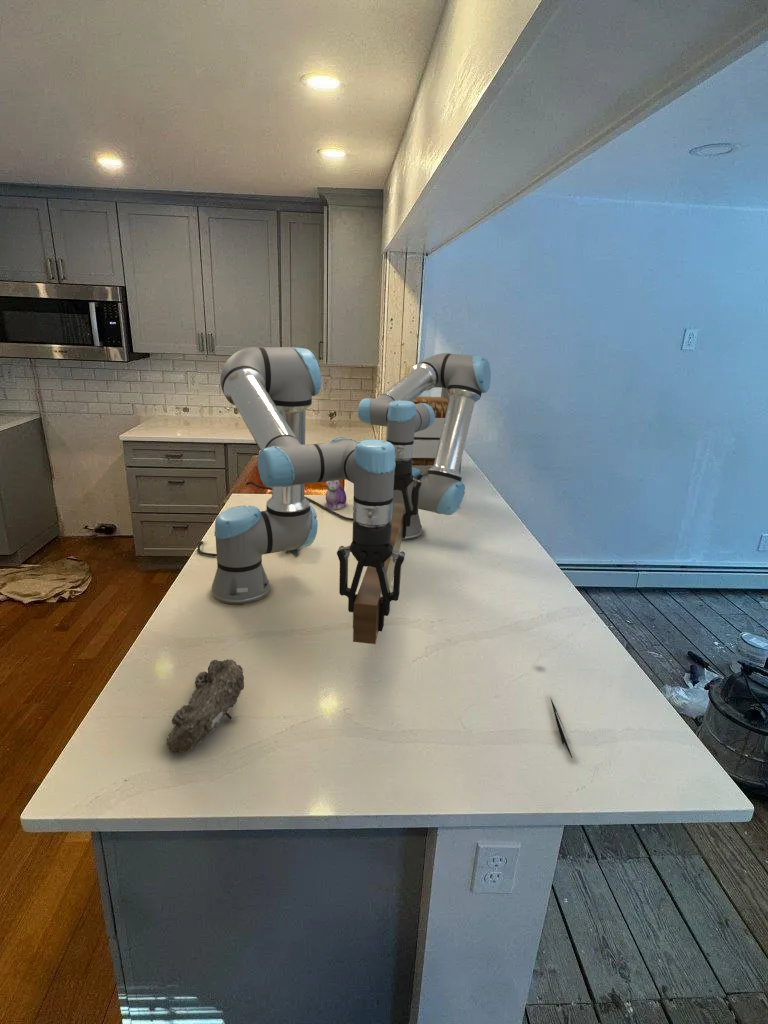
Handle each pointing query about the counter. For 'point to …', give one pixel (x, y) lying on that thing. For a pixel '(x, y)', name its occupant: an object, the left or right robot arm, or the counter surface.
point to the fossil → (206, 705)
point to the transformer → (430, 431)
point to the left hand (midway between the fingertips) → (368, 626)
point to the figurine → (335, 495)
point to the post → (376, 587)
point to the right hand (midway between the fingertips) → (395, 535)
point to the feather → (560, 728)
